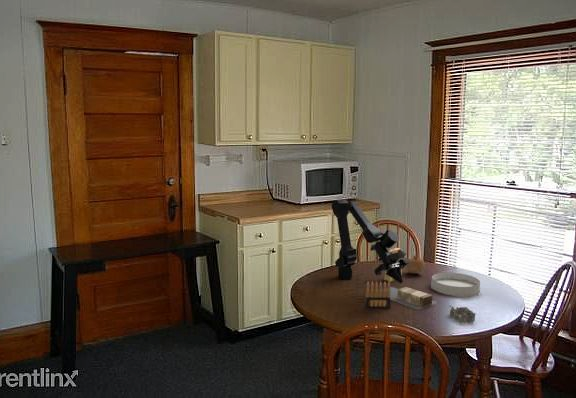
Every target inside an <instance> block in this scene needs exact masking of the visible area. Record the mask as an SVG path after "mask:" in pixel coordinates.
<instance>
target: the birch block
mask: <svg viewBox="0 0 576 398" xmlns="http://www.w3.org/2000/svg"><path fill="white" fill-rule="evenodd" d="M397 289H398V294H397V298H398V299H401V300H404V301H407V302H410V303H412V304H415V305H418V306H421V307H425V308H427V307H429V306H428V305H430V306H432V305H431V304H432V301H433V294H429V293H427V292H423V291H420V290H417V289H414V288H411V287H408V286H405V287H402V288H397ZM426 306H427V307H426Z"/></svg>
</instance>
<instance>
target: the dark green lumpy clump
mask: <svg viewBox="0 0 576 398" xmlns="http://www.w3.org/2000/svg"><path fill="white" fill-rule="evenodd" d="M449 308H451V309H450V311H449V315H450V316H451V317H453V319H455V320H457V321H458V322H459V323H463V324H467V322H469V323H474V322H475V321H476V315H477V313H475V312H473V310H470V309H469V308H468V307H467V306H460V307H456V308H454V306H451V305H449Z"/></svg>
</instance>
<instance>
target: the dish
mask: <svg viewBox="0 0 576 398" xmlns="http://www.w3.org/2000/svg"><path fill="white" fill-rule="evenodd" d="M480 281H481V280H480V279H478V278H477V277H474V276H472V275H469V274H464V273H459V272H439V273H435V274H433V275H432V276H431V282H430V288H431V290H433V291H436V292H437V293H441V294H443V295H448V296H453V297H456V298H471V297H475V296H478V295H479V294H480V293H481V282H480Z"/></svg>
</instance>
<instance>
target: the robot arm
mask: <svg viewBox="0 0 576 398" xmlns="http://www.w3.org/2000/svg"><path fill="white" fill-rule="evenodd" d="M331 209H332V210H331V211H332V213H333V215H334V216H335V217H336V220H337V227H338V233H339V240H340V249H339V251H338V258H337V259H336V260H335V261H334V264H335V267H337V268H338V272H337V273H338V274H337V279H338V280H352V278H353V268H352V266H355V264H356V261H357V260H358V253H357V248H354V247H353V246H352V241H351V235H350V230H349V229H350V228H349V221H348V216H349V213H350V214H351V215H352V217H353V218H354V220H355V221H356V223H357V224H358V226H359V227H360V228H361V230H362V236H363V237H364V239H365V242H366V243H368V244H371V247H370V251H371V252H372V251H374V252H375V253H376V255H377V256H378V262H381V264H379V265H378V266H377V267H376V268H375V269H374V274H375V275H376V276H381V275H382V272H385V270H386V272H387V273H386V274H385V273H384V276H385V275H388V276H390V277H392V278H393V279H395V280H394V281H396V282H397V283H399V284H403V283H404V281H403V280H404V279H403V274H402V275H401V269H402V270H403V269H404V268H406V265H408V264H409V263H410V262H409V260H408V259H409V258H407V257H405V256H406V251H405V250H404V249H402V248H400V249H401V250H398V252H397V253H394V252H392V251H391V252H390V250H391V248H393V246H394V245H395V244H396V243H398V242H399V240H400V237H399V234H397V233H396V232H394V231H392V230H391V229H386V231H385V232H382V231H381V230H380V229H379V228H378V227H377V226H376V225H374V224H372V223H371V221H370V220H369V219H368V217H367V216H366V214H365V213H364V211H363V210H362V209H361V207H360V206H359V203H358V202H355V201H350V200H348V199H346V198H342V199H341V198H340V199H335V200H333V201H332V203H331ZM373 243H375V244H373ZM401 258H403V259H401ZM399 259H401V260H399ZM397 261H398V262H397Z"/></svg>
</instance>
